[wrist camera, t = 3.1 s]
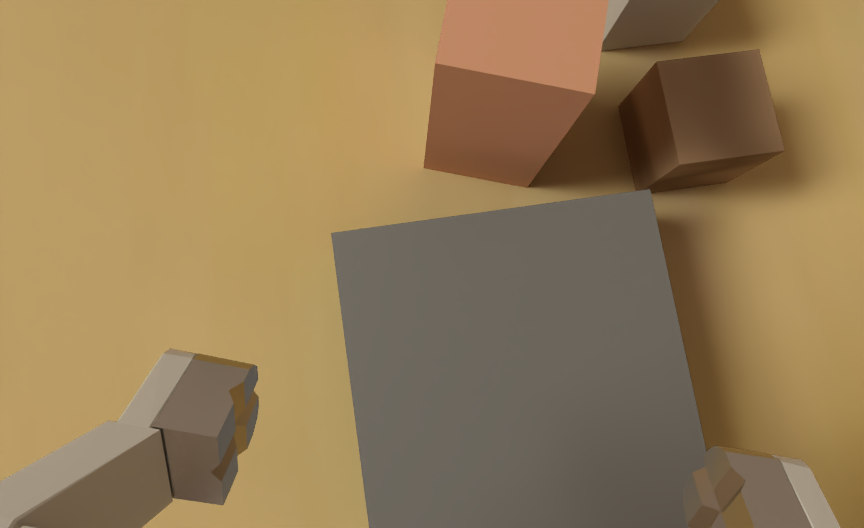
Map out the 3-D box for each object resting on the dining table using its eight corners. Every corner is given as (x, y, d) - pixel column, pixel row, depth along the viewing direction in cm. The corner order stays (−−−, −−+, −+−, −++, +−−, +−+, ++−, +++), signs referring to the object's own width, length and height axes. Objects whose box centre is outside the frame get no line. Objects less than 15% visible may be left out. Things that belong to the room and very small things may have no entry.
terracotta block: (526, 187, 28) (595, 94, 18) (423, 167, 28) (434, 63, 18) (542, 90, 29) (615, -50, 19) (442, 71, 29) (462, -81, 19)
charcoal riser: (380, 548, 25) (376, 584, 21) (341, 251, 27) (331, 233, 23) (673, 496, 26) (721, 521, 22) (615, 213, 28) (650, 189, 24)
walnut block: (636, 195, 28) (679, 164, 24) (617, 107, 29) (656, 61, 24) (725, 182, 28) (784, 150, 24) (704, 96, 29) (759, 49, 25)
